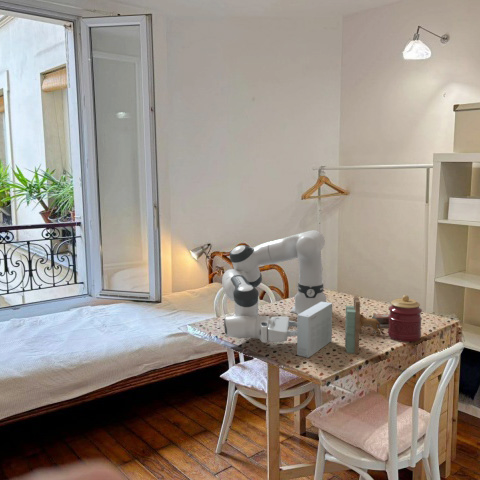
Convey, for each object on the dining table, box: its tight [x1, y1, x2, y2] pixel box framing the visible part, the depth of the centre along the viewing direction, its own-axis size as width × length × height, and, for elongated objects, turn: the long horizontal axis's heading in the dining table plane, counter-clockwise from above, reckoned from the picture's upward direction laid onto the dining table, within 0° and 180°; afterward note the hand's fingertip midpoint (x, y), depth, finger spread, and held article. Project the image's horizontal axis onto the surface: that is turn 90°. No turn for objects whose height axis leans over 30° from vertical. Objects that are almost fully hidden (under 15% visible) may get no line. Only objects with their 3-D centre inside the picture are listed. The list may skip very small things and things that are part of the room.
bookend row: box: [344, 295, 361, 355], centre depth 193 cm, size 9×4×20 cm, turn 172°
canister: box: [387, 294, 423, 343], centre depth 206 cm, size 13×13×18 cm
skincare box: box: [296, 301, 333, 359], centre depth 195 cm, size 21×6×16 cm, turn 146°
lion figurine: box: [359, 313, 385, 337], centre depth 212 cm, size 15×5×9 cm, turn 69°
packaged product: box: [371, 313, 390, 329], centre depth 223 cm, size 18×5×10 cm
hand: (300, 328), depth 195 cm, fingers open, 8 cm apart
